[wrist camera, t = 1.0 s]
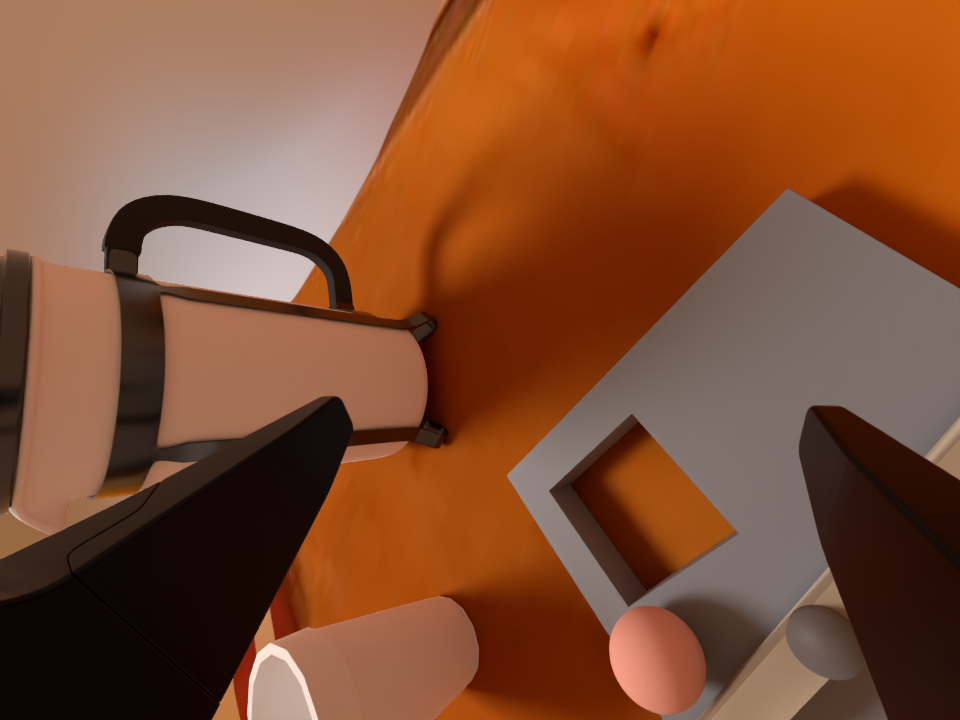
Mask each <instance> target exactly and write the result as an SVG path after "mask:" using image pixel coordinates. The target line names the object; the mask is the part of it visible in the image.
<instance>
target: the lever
mask: <svg viewBox="0 0 960 720" xmlns="http://www.w3.org/2000/svg"><path fill="white" fill-rule="evenodd" d="M924 458H926V459H928V460H929V461H931V462H932V463H934V464H936V465H937V466H939V467H940V468H942V469H943V470H945V471H947V472H948V473H950V474H951V475H953V476H955V477H956V478H958V479H959V480H960V417H959V418H958V419H957V420H956V421H955V422H954V423H953V425H952V426H951V427H950V428H949V429H948V430H947V432H946V433H945V434H944V435H943V436H942V437H941V438H940V440H939V441H938V442H937V443H936V444H935V445H934V446H933V448H932V449H931V450H930V451H929V452H928V453H927V454H926V456H925V457H924ZM863 665H864V657H863V654H862V652H861V649H860V646H859V644H858V641H857V639H856V636H855V633H854V631H853V628H852V626H851V623H850V620H849V618H848V615H847V612H846V610H845V607H844V605H843V602H842V599H841V597H840V594H839V592H838V589H837V586H836V584H835V581H834V579H833V576H832V573H831V571H830V568H829V567H828V568H827V569H826V570H825V572H824V573H823V574H822V575H821V576H820V577H819V579H818V580H817V581H816V582H815V583H814V584H813V585H812V587H811V588H810V589H809V590H808V591H807V592H806V593H805V595H804V596H803V597H802V598H801V599H800V600H799V601H798V603H797V604H796V605H795V606H794V607H793V608H792V610H791V611H790V612H789V613H788V614H787V615H786V616H785V618H784V619H783V620H782V621H781V622H780V623H779V624H778V626H777V627H776V628H775V629H774V630H773V631H772V633H771V634H770V635H769V636H768V637H767V638H766V639H765V641H764V642H763V643H762V644H761V645H760V646H759V647H758V649H757V650H756V651H755V652H754V653H753V654H752V655H751V657H750V658H749V659H748V660H747V661H746V662H745V664H744V665H743V666H742V667H741V668H740V669H739V670H738V672H737V673H736V674H735V675H734V676H733V677H732V678H731V680H730V681H729V682H728V683H727V684H726V685H725V686H724V688H723V689H722V690H721V691H720V692H719V693H718V695H717V696H716V697H715V698H714V699H713V700H712V701H711V703H710V704H709V705H708V706H707V707H706V708H705V709H704V711H703V712H702V713H701V714H700V715H699V716H698V718H697V719H696V720H790V719H791V718H792V717H793V716H794V715H795V714H796V713H797V712H798V711H799V710H800V709H801V708H802V707H803V706H804V705H805V704H806V703H807V702H808V701H809V700H810V698H811V697H812V696H813V695H814V694H815V693H816V692H817V691H818V690H819V689H820V688H821V687H822V686H823V685H824V684H825V683H826V682H827V681H828V680H829V679H832V680H848V679H851V678H853V677H855V676H856V675H858V674H859V673H860V671H861V670H862V668H863Z"/></svg>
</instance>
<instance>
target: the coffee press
mask: <svg viewBox="0 0 960 720" xmlns="http://www.w3.org/2000/svg"><path fill="white" fill-rule="evenodd" d="M166 226H185V227H191V228H196V229H201V230H205V231H209V232H213V233H218V234H221V235H225V236H229V237H233V238H237V239H242V240H246V241H250V242H254V243H258V244H262V245H266V246H270V247H274V248H278V249H282V250H286V251H289V252H293V253H297V254H300V255H303V256H305V257H307V258H309V259H310V260H311V261H313V262H314V263H315V264H316V265H317V266H318V267H319V268H320V269H321V270H322V272H323V273H324V275H325V277H326V280H327V285H328V292H329V304H330V307H329V309H327V308H321V307H315V306H309V305H303V304H297V303H290V302H284V301H278V300H272V299H265V298H259V297H253V296H247V295H241V294H234V293H228V292H222V291H215V290H209V289H203V288H197V287H191V286H185V285H178V284H172V283H166V282H159V281H154V280H153V279H152V278H151V277H149V276H147V275H141V274H137V273H138V257H139V256H140V254H141V249H142V243H143V239H144V237H145V235H146V234H148V233H149V232H151V231H153V230H155V229H158V228H161V227H166ZM102 251H103V252H104V253H105V258H104V273H103V272H97V271H91V270H85V269H79V268H72V267H67V266H60V265H55V264H50V263H46V262H43V261H41V260H40V259H39V258H38V257H36V256H30V254H29V253H28V252H23V251H17V250H11V249H7V250H6V253H5V255H4V256H1V257H0V516H4V515H7V513H8V510H10V512H11V513H12V514H13V515H14V516H15V517H16V518H17V519H19V520H20V521H22V522H24V523H25V524H28V525H30V526H32V527H33V528H35V529H38V530H40V531H42V532H44V533H47V534H49V535H53V534H55V533H57V532H59V531H61V530H64V529H66V518H67V511H68V507H69V504H70V503H71V501H72V500H74V499H76V498H79V497H86V496H87V497H88V498H89V499H90V500H97V499H104V498H112V497H119V496H127V495H133V494H136V493H137V492H138V491H139V490H140V489H146V488H148V487H150V486H152V485H154V484H156V483H157V482H162V480H163V479H165V478H167V477H169V476H171V475H173V474H175V473H177V472H178V471H180V470H182V469H184V468H186V467H188V466H190V465H192V464H194V463H196V462H198V461H199V460H201V459H203V458H205V457H207V456H209V455H211V454H213V453H215V452H217V451H218V450H220V449H222V448H224V447H226V446H228V445H230V444H232V443H234V442H236V441H237V440H239V439H241V438H243V437H245V436H247V435H249V434H251V433H253V432H255V431H256V430H258V429H260V428H262V427H264V426H266V425H268V424H270V423H272V422H274V421H276V420H277V419H279V418H281V417H283V416H285V415H287V414H289V413H291V412H293V411H295V410H296V409H298V408H300V407H302V406H304V405H306V404H308V403H310V402H312V401H314V400H315V399H317V398H319V397H322V396H337V397H339V398H340V399H342V401H343V403H344V405H345V407H346V409H347V412H348V414H349V416H350V418H351V421H352V423H353V434H352V436H351V439H350V441H349V444H348V446H347V449H346V451H345V454H344V456H343V459H342V461H341V463H346V462H354V461H361V460H368V459H375V458H381V457H386V456H390V455H392V454H394V453H396V452H398V451H399V450H401V449H402V448H403V447H404V446H405V445H406V444H407V443H408V442H409V441H413V442H417V443H421V444H423V445H426V446H429V447H432V448H440V447H441V445H442V443H443V441H444V439H445V437H446V436H447V434H448V432H447V430H446V429H445V428H444V427H443V426H442V425H440V424H438V423H435V422H433V421H431V420H430V419H428V418H426V417H425V416H424V411H425V407H426V402H427V393H428V378H427V369H426V364H425V360H424V357H423V354H422V351H421V349H420V347H419V345H418V343H419V342H420V341H421V340H423V339H424V338H426V337H427V336H429V335H430V334H432V333H433V332H434V331H435V329H436V327H437V322H436V321H435V320H434V319H433V318H432V317H431V316H430V315H429V314H428V313H427V312H420V313H418V314H416V315H414V316H412V317H409V318H407V319H404V320H393V319H386V318H381V317H376V316H374V315H372V314H370V313H367V312H361V311H355V310H354V306H353V302H352V292H351V285H350V280H349V276H348V273H347V270H346V267H345V265H344V263H343V261H342V260H341V258H340V257H339V255H338V254H337V253H336V252H335V251H334V249H333V248H332V247H330V246H329V245H328V244H327V243H326V242H324V241H323V240H322V239H320V238H318V237H317V236H315V235H313V234H311V233H309V232H306V231H304V230H301V229H298V228H295V227H293V226H290V225H286V224H283V223H280V222H276V221H273V220H270V219H266V218H263V217H260V216H256V215H253V214H249V213H246V212H243V211H239V210H235V209H232V208H228V207H225V206H221V205H217V204H214V203H210V202H206V201H202V200H198V199H193V198H189V197H182V196H173V195H155V196H149V197H143V198H140V199H137V200H134V201H132V202H130V203H128V204H126V205H125V206H124V207H122V208H121V209H120V210H119V211H118V212H117V213H116V215H115V216H114V217H113V219H112V221H111V223H110V225H109V227H108V229H107V232H106V233H105V236H104V239H103V243H102ZM424 323H425V324H424ZM422 324H423V325H422ZM420 325H422V326H421V327H419V328H417V329H416V330H414V331H413V332H412V333H410V332H409V331H408V330H407V329H413V328H416V327H418V326H420Z"/></svg>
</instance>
